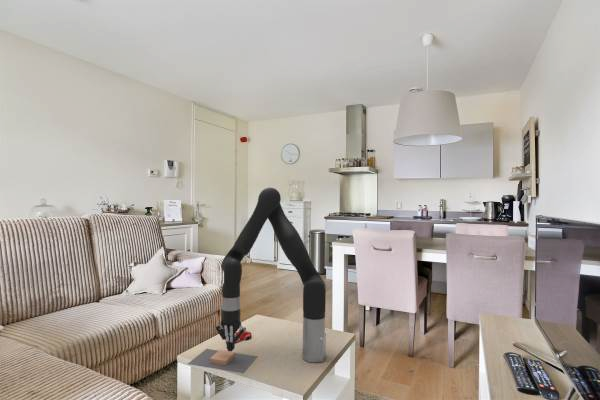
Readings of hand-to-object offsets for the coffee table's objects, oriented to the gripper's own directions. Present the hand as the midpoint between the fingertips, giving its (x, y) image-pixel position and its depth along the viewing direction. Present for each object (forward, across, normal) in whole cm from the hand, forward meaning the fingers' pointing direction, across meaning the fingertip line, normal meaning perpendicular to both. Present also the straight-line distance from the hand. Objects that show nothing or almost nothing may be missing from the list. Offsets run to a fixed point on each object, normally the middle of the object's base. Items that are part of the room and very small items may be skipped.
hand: (230, 350), depth 131 cm
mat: (+5, +3, 0) cm, 6 cm away
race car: (+5, +6, -20) cm, 21 cm away
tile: (+3, 0, 0) cm, 3 cm away
